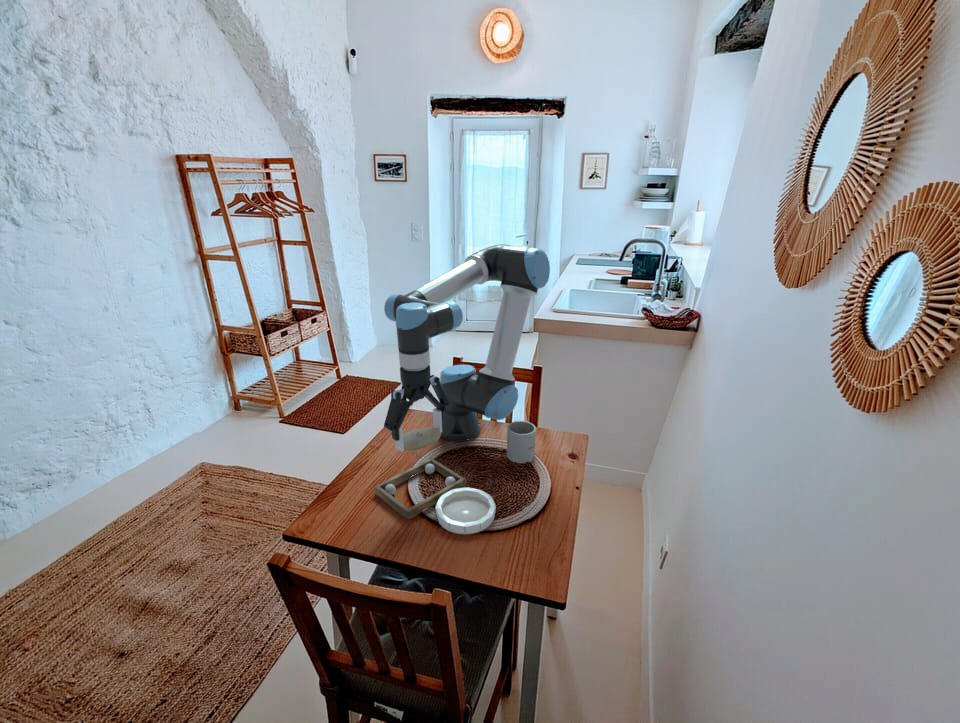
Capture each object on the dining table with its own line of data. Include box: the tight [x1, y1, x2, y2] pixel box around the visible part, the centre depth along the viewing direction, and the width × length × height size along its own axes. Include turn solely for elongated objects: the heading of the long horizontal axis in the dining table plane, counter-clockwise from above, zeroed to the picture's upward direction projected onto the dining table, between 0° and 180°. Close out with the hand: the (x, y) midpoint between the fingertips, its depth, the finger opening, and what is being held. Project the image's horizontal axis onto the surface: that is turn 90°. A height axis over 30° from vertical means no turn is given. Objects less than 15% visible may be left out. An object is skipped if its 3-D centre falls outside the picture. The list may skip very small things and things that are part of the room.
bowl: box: [435, 486, 497, 535], centre depth 121 cm, size 15×15×3 cm
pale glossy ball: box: [424, 464, 436, 475], centre depth 138 cm, size 3×3×3 cm
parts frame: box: [374, 457, 466, 521], centre depth 131 cm, size 20×15×2 cm
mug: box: [506, 420, 537, 464], centre depth 147 cm, size 12×9×10 cm
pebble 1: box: [385, 484, 397, 496], centre depth 129 cm, size 3×3×3 cm
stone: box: [403, 426, 441, 452], centre depth 125 cm, size 6×6×12 cm
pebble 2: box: [444, 476, 456, 487], centre depth 132 cm, size 3×3×3 cm
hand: (419, 439), depth 125 cm, fingers closed on stone, 12 cm apart
